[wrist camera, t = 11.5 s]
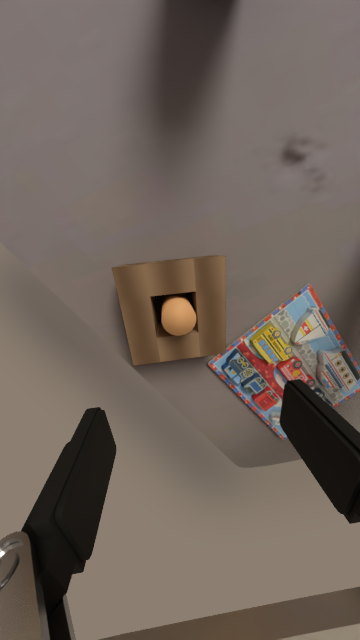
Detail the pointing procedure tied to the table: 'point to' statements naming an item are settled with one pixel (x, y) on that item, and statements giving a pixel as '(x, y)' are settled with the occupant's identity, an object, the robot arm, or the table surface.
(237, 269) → the table surface
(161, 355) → the socket block
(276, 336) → the puzzle board
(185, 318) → the peg
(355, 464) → the robot arm
